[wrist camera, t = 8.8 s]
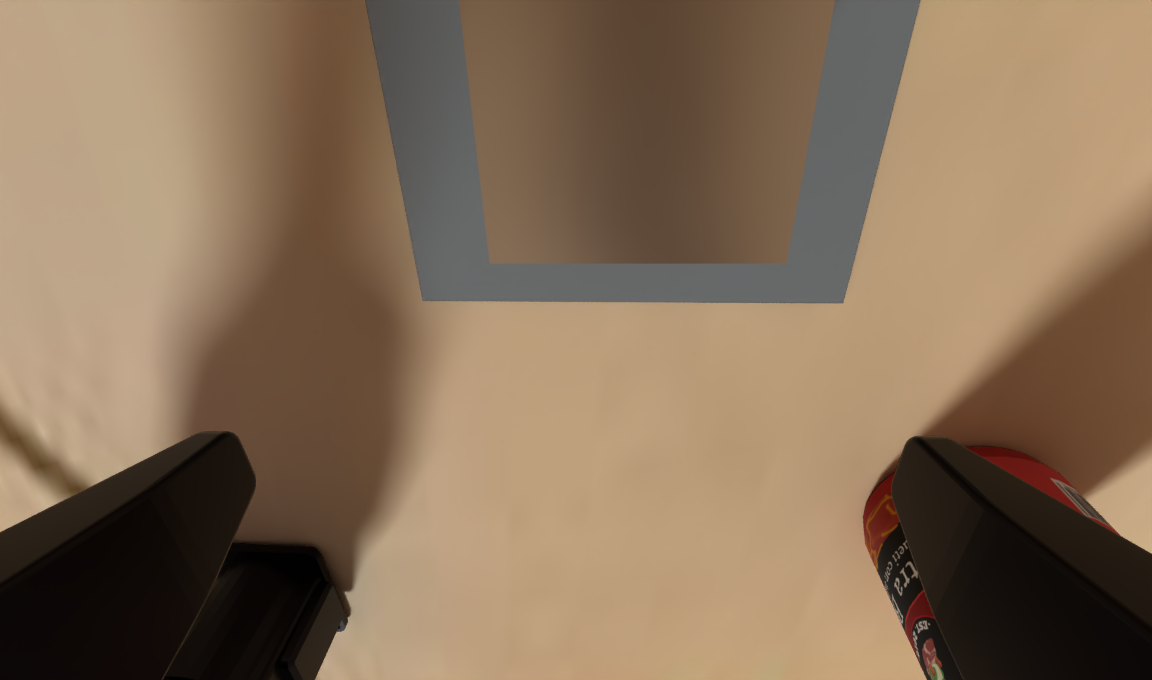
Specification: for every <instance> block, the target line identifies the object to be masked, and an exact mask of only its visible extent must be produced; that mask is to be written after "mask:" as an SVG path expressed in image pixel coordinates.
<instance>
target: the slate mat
mask: <svg viewBox="0 0 1152 680" xmlns="http://www.w3.org/2000/svg"><path fill="white" fill-rule="evenodd" d="M365 2H366V7H367V12H368V17H369V23H370V28H371V33H372V38H373V43H374V49H375V54H376V59H377V64H378V70H379V75H380V80H381V85H382V90H383V96H384V101H385V106H386V111H387V117H388V122H389V127H390V132H391V138H392V143H393V148H394V153H395V158H396V164H397V169H398V174H399V179H400V185H401V190H402V195H403V200H404V205H405V211H406V216H407V221H408V226H409V232H410V237H411V242H412V247H413V253H414V258H415V263H416V268H417V273H418V279H419V284H420V289H421V294H422V300H423V301H530V302H695V303H843V302H844V298H845V294H846V290H847V286H848V282H849V279H850V275H851V271H852V267H853V263H854V259H855V255H856V251H857V247H858V243H859V239H860V235H861V231H862V228H863V224H864V220H865V216H866V212H867V208H868V204H869V200H870V196H871V192H872V188H873V184H874V180H875V176H876V173H877V169H878V165H879V161H880V157H881V153H882V149H883V145H884V141H885V137H886V133H887V129H888V125H889V121H890V118H891V114H892V110H893V106H894V102H895V98H896V94H897V90H898V86H899V82H900V78H901V74H902V70H903V66H904V63H905V59H906V55H907V51H908V47H909V43H910V39H911V35H912V31H913V27H914V23H915V19H916V15H917V12H918V8H919V4H920V0H835V3H834V8H833V14H832V19H831V25H830V30H829V36H828V41H827V46H826V52H825V57H824V63H823V68H822V73H821V79H820V84H819V90H818V95H817V101H816V106H815V111H814V117H813V122H812V128H811V133H810V138H809V144H808V149H807V155H806V160H805V165H804V171H803V176H802V182H801V187H800V193H799V198H798V203H797V209H796V214H795V220H794V225H793V230H792V236H791V241H790V247H789V252H788V258H787V263H786V264H490V262H489V253H488V245H487V236H486V228H485V219H484V211H483V202H482V194H481V185H480V177H479V168H478V160H477V151H476V143H475V134H474V126H473V117H472V109H471V100H470V92H469V83H468V75H467V66H466V58H465V49H464V41H463V32H462V24H461V15H460V7H459V0H365Z"/></svg>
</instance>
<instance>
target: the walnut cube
mask: <svg viewBox="0 0 1152 680" xmlns="http://www.w3.org/2000/svg"><path fill="white" fill-rule="evenodd" d="M834 3H835V0H459V7H460V15H461V24H462V32H463V41H464V49H465V58H466V66H467V75H468V83H469V92H470V100H471V109H472V117H473V126H474V134H475V143H476V151H477V160H478V168H479V177H480V185H481V194H482V202H483V211H484V219H485V228H486V236H487V245H488V253H489V262H490V264H786V263H787V258H788V252H789V247H790V241H791V236H792V230H793V225H794V220H795V214H796V209H797V203H798V198H799V193H800V187H801V182H802V176H803V171H804V165H805V160H806V155H807V149H808V144H809V138H810V133H811V128H812V122H813V117H814V111H815V106H816V101H817V95H818V90H819V84H820V79H821V73H822V68H823V63H824V57H825V52H826V46H827V41H828V36H829V30H830V25H831V19H832V14H833V8H834Z"/></svg>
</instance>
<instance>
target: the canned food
mask: <svg viewBox="0 0 1152 680" xmlns="http://www.w3.org/2000/svg"><path fill="white" fill-rule="evenodd" d="M966 448H967V449H969V450H971V451H973V452H974V453H976V454H978V455H980V456H981V457H983V458H985V459H987V460H988V461H990V462H992V463H994V464H995V465H997V466H999V467H1001V468H1002V469H1004V470H1006V471H1008V472H1009V473H1011V474H1013V475H1015V476H1016V477H1018V478H1020V479H1022V480H1023V481H1025V482H1027V483H1029V484H1030V485H1032V486H1034V487H1036V488H1037V489H1039V490H1041V491H1043V492H1044V493H1046V494H1048V495H1050V496H1051V497H1053V498H1055V499H1057V500H1058V501H1060V502H1062V503H1064V504H1065V505H1067V506H1069V507H1071V508H1072V509H1074V510H1076V511H1078V512H1079V513H1081V514H1083V515H1085V516H1086V517H1088V518H1090V519H1092V520H1093V521H1095V522H1097V523H1099V524H1100V525H1102V526H1104V527H1106V528H1107V529H1109V530H1111V531H1113V532H1114V533H1116V534H1118V533H1117V532H1116V531H1115V529H1114V528H1113V527H1112V526H1111V525H1110V524H1109V523H1108V522H1107V521H1106V520H1105V519H1104V518H1103V517H1102V516H1101V515H1100V514H1099V513H1098V512H1097V511H1096V510H1095V509H1094V508H1093V507H1092V506H1091V505H1090V504H1089V503H1088V502H1087V501H1086V499H1085V498H1084V497H1083V496H1082V495H1081V494H1080V493H1079V492H1078V491H1077V490H1076V489H1075V488H1074V487H1073V486H1072V485H1071V484H1070V483H1069V482H1068V481H1067V480H1066V479H1065V478H1064V477H1063V476H1062V475H1061V474H1060V473H1058V472H1056V471H1055V470H1053V469H1051V468H1050V467H1048V466H1046V465H1044V464H1043V463H1041V462H1039V461H1037V460H1035V459H1034V458H1032V457H1030V456H1028V455H1026V454H1023V453H1020V452H1017V451H1014V450H1010V449H1004V448H997V447H966ZM894 475H895V473H893V474H892V475H891V476H889V477H888V478H887V479H886V480H884V481H883V482H882V483H881V484H880V485H879V486H878V488H877V489H876V490H875V491H874V492H873V493H872V495H871V497H870V499H869V500H868V502H867V504H866V507H865V511H864V515H863V524H864V536H865V545H866V547H867V549H868V552H869V554H870V556H871V559H872V561H873V563H874V565H875V567H876V569H877V572H878V574H879V576H880V578H881V580H882V583H883V585H884V587H885V589H886V591H887V594H888V596H889V598H890V600H891V602H892V604H893V607H894V609H895V611H896V613H897V615H898V618H899V620H900V622H901V624H902V626H903V628H904V631H905V633H906V635H907V637H908V639H909V642H910V644H911V646H912V648H913V650H914V652H915V655H916V657H917V659H918V661H919V663H920V666H921V668H922V670H923V672H924V674H925V676H926V679H927V680H963V678H962V676H961V674H960V672H959V670H958V667H957V665H956V663H955V661H954V659H953V657H952V655H951V653H950V650H949V648H948V646H947V644H946V642H945V640H944V638H943V636H942V633H941V631H940V629H939V627H938V624H937V622H936V620H935V618H934V615H933V613H932V610H931V608H930V605H929V602H928V600H927V597H926V595H925V592H924V589H923V586H922V583H921V580H920V577H919V575H918V572H917V569H916V566H915V563H914V560H913V558H912V555H911V552H910V549H909V546H908V543H907V540H906V538H905V535H904V532H903V529H902V526H901V523H900V520H899V518H898V515H897V512H896V509H895V506H894V503H893V500H892V494H891V486H892V480H893V478H894ZM1118 535H1119V534H1118Z"/></svg>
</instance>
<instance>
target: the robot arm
mask: <svg viewBox="0 0 1152 680" xmlns="http://www.w3.org/2000/svg"><path fill="white" fill-rule="evenodd" d="M255 486H256V477H255V473H254V471H253V468H252V466H251V464H250V462H249V459H248V457H247V455H246V453H245V450H244V448H243V446H242V444H241V441H240V439H239V438H238V437H237V436H236V435H235V434H234V433H232V432H228V431H205V432H200V433H197V434H195V435H193V436H191V437H189V438H187V439H185V440H183V441H181V442H179V443H177V444H175V445H173V446H171V447H169V448H167V449H165V450H163V451H161V452H159V453H157V454H155V455H153V456H151V457H149V458H147V459H145V460H143V461H141V462H139V463H137V464H135V465H133V466H131V467H129V468H127V469H125V470H123V471H121V472H119V473H117V474H115V475H113V476H111V477H109V478H107V479H105V480H103V481H101V482H99V483H97V484H95V485H93V486H91V487H89V488H87V489H85V490H83V491H81V492H79V493H77V494H75V495H73V496H71V497H70V498H68V499H66V500H64V501H62V502H60V503H58V504H56V505H54V506H52V507H50V508H48V509H46V510H44V511H42V512H40V513H38V514H36V515H34V516H32V517H30V518H28V519H26V520H24V521H22V522H20V523H18V524H16V525H14V526H12V527H10V528H8V529H6V530H4V531H2V532H0V680H315V678H316V676H317V674H318V671H319V669H320V667H321V665H322V663H323V660H324V658H325V656H326V654H327V652H328V649H329V647H330V645H331V643H332V640H333V638H334V636H335V634H336V632H341V631H344V629H345V628H346V625H347V623H348V619H347V616H346V614H345V611H344V609H343V606H342V604H341V602H340V599H339V597H338V594H337V592H336V589H335V587H334V584H333V582H332V580H331V577H330V575H329V572H328V570H327V567H326V565H325V562H324V560H323V558H322V555H321V553H320V552H319V551H318V550H317V549H315V548H313V547H301V546H275V545H248V544H232V542H233V540H234V537H235V535H236V533H237V531H238V528H239V526H240V524H241V521H242V519H243V517H244V515H245V512H246V510H247V508H248V505H249V503H250V501H251V499H252V496H253V494H254V491H255ZM891 494H892V500H893V503H894V506H895V509H896V512H897V515H898V518H899V520H900V523H901V526H902V529H903V532H904V535H905V538H906V540H907V543H908V546H909V549H910V552H911V555H912V558H913V560H914V563H915V566H916V569H917V572H918V575H919V577H920V580H921V583H922V586H923V589H924V592H925V595H926V597H927V600H928V602H929V605H930V608H931V610H932V613H933V615H934V618H935V620H936V622H937V624H938V627H939V629H940V631H941V633H942V636H943V638H944V640H945V642H946V644H947V646H948V648H949V650H950V653H951V655H952V657H953V659H954V661H955V663H956V665H957V667H958V670H959V672H960V674H961V676H962V678H963V680H1152V554H1151V553H1150V552H1148V551H1146V550H1144V549H1143V548H1141V547H1139V546H1137V545H1135V544H1134V543H1132V542H1130V541H1128V540H1127V539H1125V538H1123V537H1121V536H1120V535H1118V534H1116V533H1114V532H1113V531H1111V530H1109V529H1107V528H1106V527H1104V526H1102V525H1100V524H1099V523H1097V522H1095V521H1093V520H1092V519H1090V518H1088V517H1086V516H1085V515H1083V514H1081V513H1079V512H1078V511H1076V510H1074V509H1072V508H1071V507H1069V506H1067V505H1065V504H1064V503H1062V502H1060V501H1058V500H1057V499H1055V498H1053V497H1051V496H1050V495H1048V494H1046V493H1044V492H1043V491H1041V490H1039V489H1037V488H1036V487H1034V486H1032V485H1030V484H1029V483H1027V482H1025V481H1023V480H1022V479H1020V478H1018V477H1016V476H1015V475H1013V474H1011V473H1009V472H1008V471H1006V470H1004V469H1002V468H1001V467H999V466H997V465H995V464H994V463H992V462H990V461H988V460H987V459H985V458H983V457H981V456H980V455H978V454H976V453H974V452H973V451H971V450H969V449H967V448H966V447H964V446H962V445H960V444H959V443H957V442H955V441H953V440H952V439H950V438H947V437H943V436H915V437H912V438H910V439H909V440H908V441H907V442H906V444H905V446H904V449H903V452H902V455H901V458H900V460H899V463H898V466H897V469H896V472H895V475H894V478H893V480H892V486H891Z"/></svg>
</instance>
